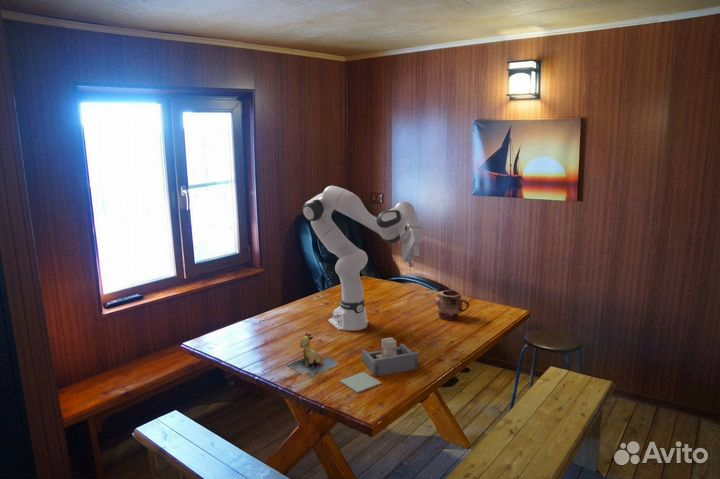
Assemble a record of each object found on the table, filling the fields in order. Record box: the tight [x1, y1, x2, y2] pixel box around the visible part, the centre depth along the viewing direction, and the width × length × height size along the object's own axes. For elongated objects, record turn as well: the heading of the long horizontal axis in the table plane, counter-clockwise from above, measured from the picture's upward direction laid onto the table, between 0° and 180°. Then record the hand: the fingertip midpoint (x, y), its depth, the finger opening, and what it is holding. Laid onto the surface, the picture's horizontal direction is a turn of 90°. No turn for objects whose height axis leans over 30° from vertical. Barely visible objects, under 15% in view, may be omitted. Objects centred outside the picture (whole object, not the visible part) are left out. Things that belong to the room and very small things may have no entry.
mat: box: [339, 371, 382, 394], centre depth 213 cm, size 12×12×1 cm
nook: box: [361, 343, 419, 378], centre depth 228 cm, size 16×20×7 cm
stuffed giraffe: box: [286, 332, 339, 378], centre depth 229 cm, size 16×18×16 cm
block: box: [381, 337, 397, 358], centre depth 228 cm, size 4×5×8 cm
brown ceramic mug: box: [433, 289, 470, 321], centre depth 281 cm, size 20×12×14 cm, turn 60°
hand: (414, 261), depth 230 cm, fingers open, 8 cm apart
